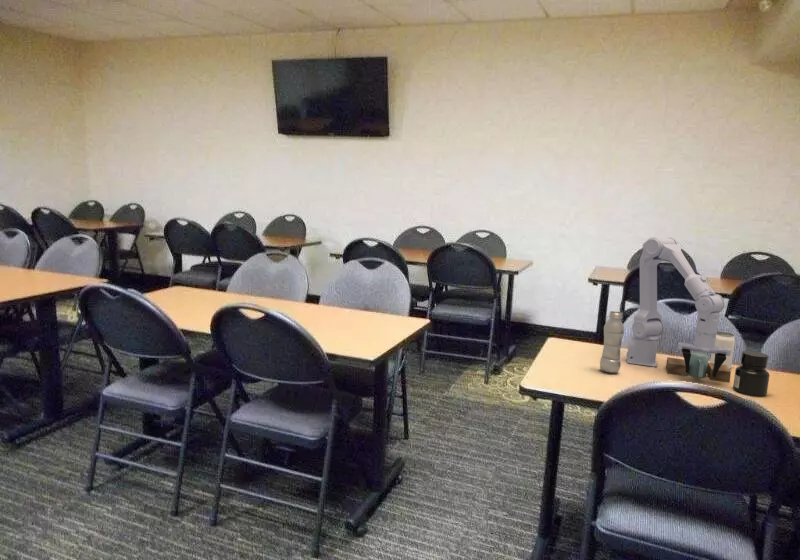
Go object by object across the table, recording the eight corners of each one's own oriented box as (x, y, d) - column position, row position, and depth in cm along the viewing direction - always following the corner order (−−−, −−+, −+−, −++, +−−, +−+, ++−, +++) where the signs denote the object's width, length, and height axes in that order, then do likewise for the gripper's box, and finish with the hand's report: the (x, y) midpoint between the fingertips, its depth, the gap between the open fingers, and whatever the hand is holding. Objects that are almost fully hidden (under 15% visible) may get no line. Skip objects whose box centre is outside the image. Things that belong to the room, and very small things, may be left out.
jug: (689, 380, 182) (692, 359, 181) (686, 371, 192) (689, 351, 191) (709, 383, 180) (712, 362, 179) (705, 374, 190) (707, 353, 189)
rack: (667, 373, 188) (668, 363, 188) (665, 367, 196) (667, 357, 195) (729, 382, 182) (730, 372, 181) (725, 375, 189) (726, 365, 189)
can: (733, 370, 195) (738, 336, 193) (713, 368, 196) (718, 335, 195) (727, 365, 202) (731, 332, 200) (707, 363, 203) (711, 330, 201)
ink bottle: (740, 384, 180) (746, 348, 178) (771, 393, 173) (777, 355, 171) (727, 390, 174) (732, 352, 172) (758, 399, 167) (764, 359, 166)
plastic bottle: (620, 371, 188) (627, 311, 185) (619, 376, 182) (625, 315, 179) (600, 367, 191) (606, 309, 188) (597, 373, 185) (604, 312, 182)
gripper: (681, 332, 178) (676, 374, 180) (734, 338, 173) (728, 381, 175) (679, 327, 184) (674, 368, 186) (730, 333, 179) (724, 375, 181)
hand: (700, 374), depth 181 cm, fingers open, 7 cm apart
